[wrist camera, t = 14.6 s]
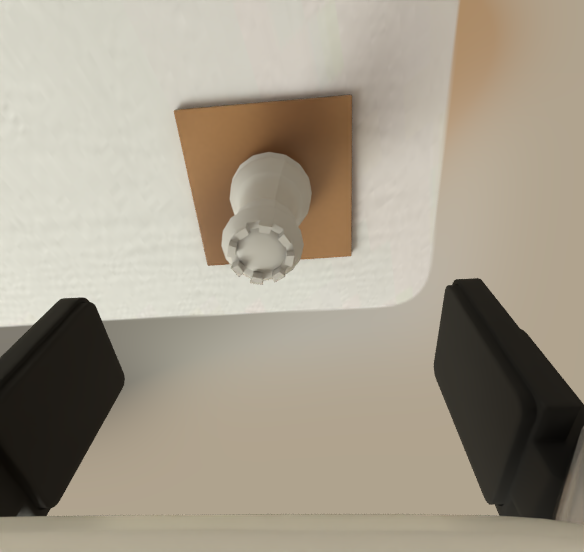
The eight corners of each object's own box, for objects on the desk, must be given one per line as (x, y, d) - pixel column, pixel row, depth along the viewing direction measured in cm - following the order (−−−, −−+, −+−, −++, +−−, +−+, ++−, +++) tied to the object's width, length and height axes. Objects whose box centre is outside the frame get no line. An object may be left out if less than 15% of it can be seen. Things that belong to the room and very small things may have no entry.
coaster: (351, 94, 19) (351, 95, 18) (350, 253, 23) (351, 256, 23) (175, 109, 19) (173, 110, 19) (208, 262, 24) (207, 265, 23)
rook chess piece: (246, 136, 19) (219, 179, 13) (324, 168, 20) (340, 225, 13) (222, 212, 22) (188, 284, 15) (293, 238, 22) (293, 318, 15)
